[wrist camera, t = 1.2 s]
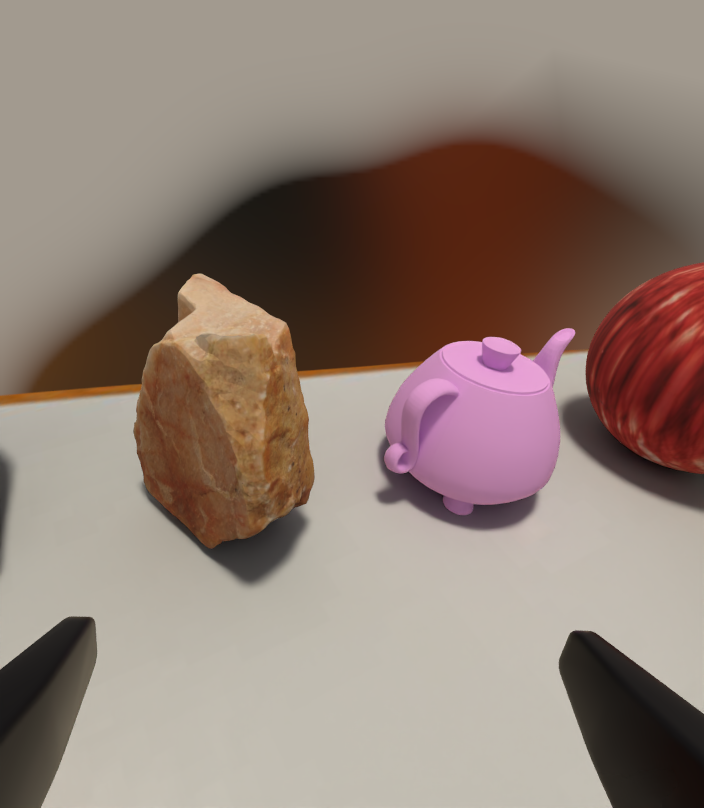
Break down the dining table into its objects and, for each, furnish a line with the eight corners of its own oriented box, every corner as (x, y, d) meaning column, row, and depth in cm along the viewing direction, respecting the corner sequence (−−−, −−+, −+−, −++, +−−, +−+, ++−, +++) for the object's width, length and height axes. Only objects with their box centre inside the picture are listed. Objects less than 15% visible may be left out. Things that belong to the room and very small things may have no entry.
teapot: (473, 404, 51) (511, 297, 44) (588, 481, 42) (657, 363, 35) (327, 451, 39) (350, 318, 33) (442, 572, 31) (505, 422, 24)
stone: (128, 463, 34) (104, 266, 26) (240, 435, 39) (247, 263, 32) (195, 615, 25) (187, 385, 17) (329, 553, 30) (370, 353, 22)
